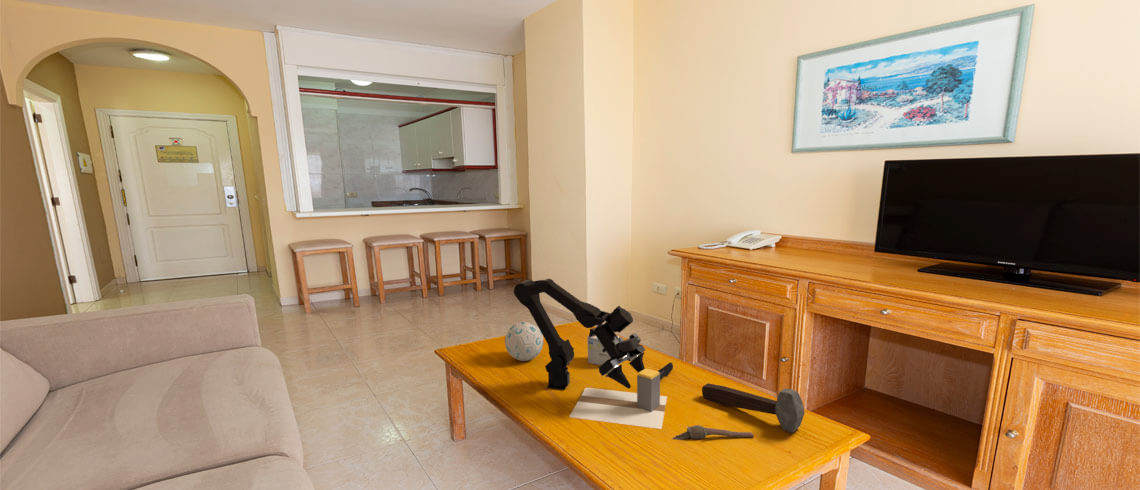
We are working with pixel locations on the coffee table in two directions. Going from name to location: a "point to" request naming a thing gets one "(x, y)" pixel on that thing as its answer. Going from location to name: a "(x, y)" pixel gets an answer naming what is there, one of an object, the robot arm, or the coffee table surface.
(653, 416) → the board
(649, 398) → the yellow-topped grey block
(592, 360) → the light bulb box
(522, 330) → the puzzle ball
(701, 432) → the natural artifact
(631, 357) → the robot arm
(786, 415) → the hammer
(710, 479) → the coffee table surface
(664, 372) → the electric trimmer
